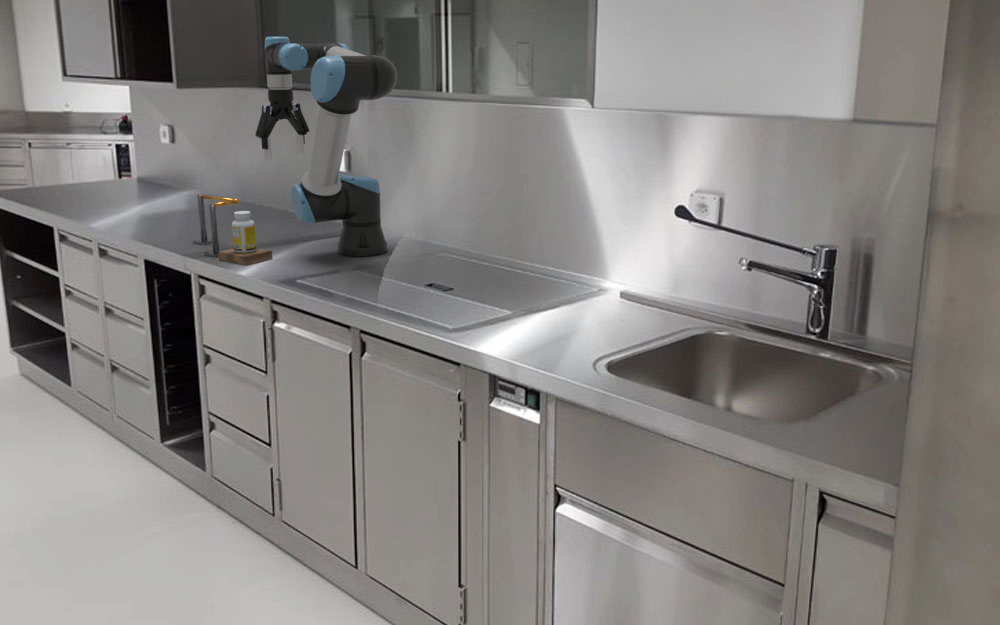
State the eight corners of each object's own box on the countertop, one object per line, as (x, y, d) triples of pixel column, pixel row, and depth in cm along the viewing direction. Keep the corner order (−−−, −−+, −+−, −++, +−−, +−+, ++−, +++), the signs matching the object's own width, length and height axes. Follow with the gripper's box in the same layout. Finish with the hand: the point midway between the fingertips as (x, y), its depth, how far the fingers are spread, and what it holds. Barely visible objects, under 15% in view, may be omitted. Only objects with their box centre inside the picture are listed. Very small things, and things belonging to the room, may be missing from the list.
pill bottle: (260, 249, 276) (257, 210, 273) (250, 254, 270) (247, 214, 267) (240, 248, 278) (237, 209, 274) (229, 252, 272) (226, 213, 268)
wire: (251, 248, 288) (247, 198, 283) (215, 257, 277) (210, 204, 272) (205, 240, 300) (201, 191, 295) (169, 248, 289) (164, 197, 284)
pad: (272, 258, 275) (271, 250, 275) (246, 265, 267) (245, 257, 267) (245, 253, 282) (244, 245, 281) (218, 259, 274) (218, 251, 273)
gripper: (301, 86, 298) (305, 152, 304) (240, 89, 278) (245, 160, 284) (318, 87, 294) (321, 154, 300) (257, 90, 274) (262, 162, 280)
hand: (284, 157), depth 292 cm, fingers open, 13 cm apart
